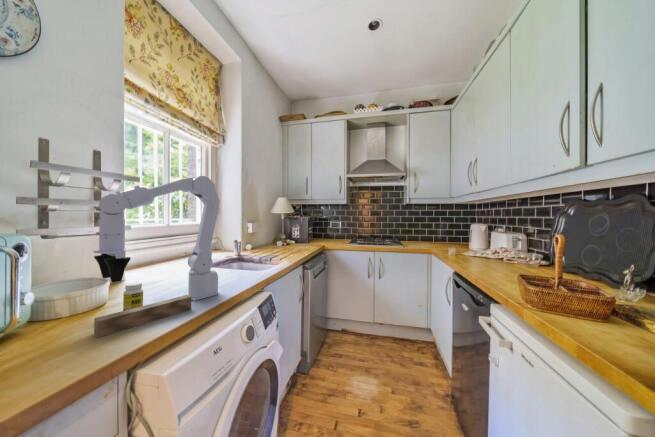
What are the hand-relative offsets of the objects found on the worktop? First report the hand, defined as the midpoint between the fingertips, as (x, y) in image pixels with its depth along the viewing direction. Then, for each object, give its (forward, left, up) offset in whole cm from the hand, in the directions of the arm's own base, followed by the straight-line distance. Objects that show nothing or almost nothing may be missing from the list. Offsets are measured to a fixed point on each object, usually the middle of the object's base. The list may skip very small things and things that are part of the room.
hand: (111, 279), depth 71 cm
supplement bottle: (-4, +3, -10) cm, 12 cm away
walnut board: (-4, +14, -10) cm, 18 cm away
